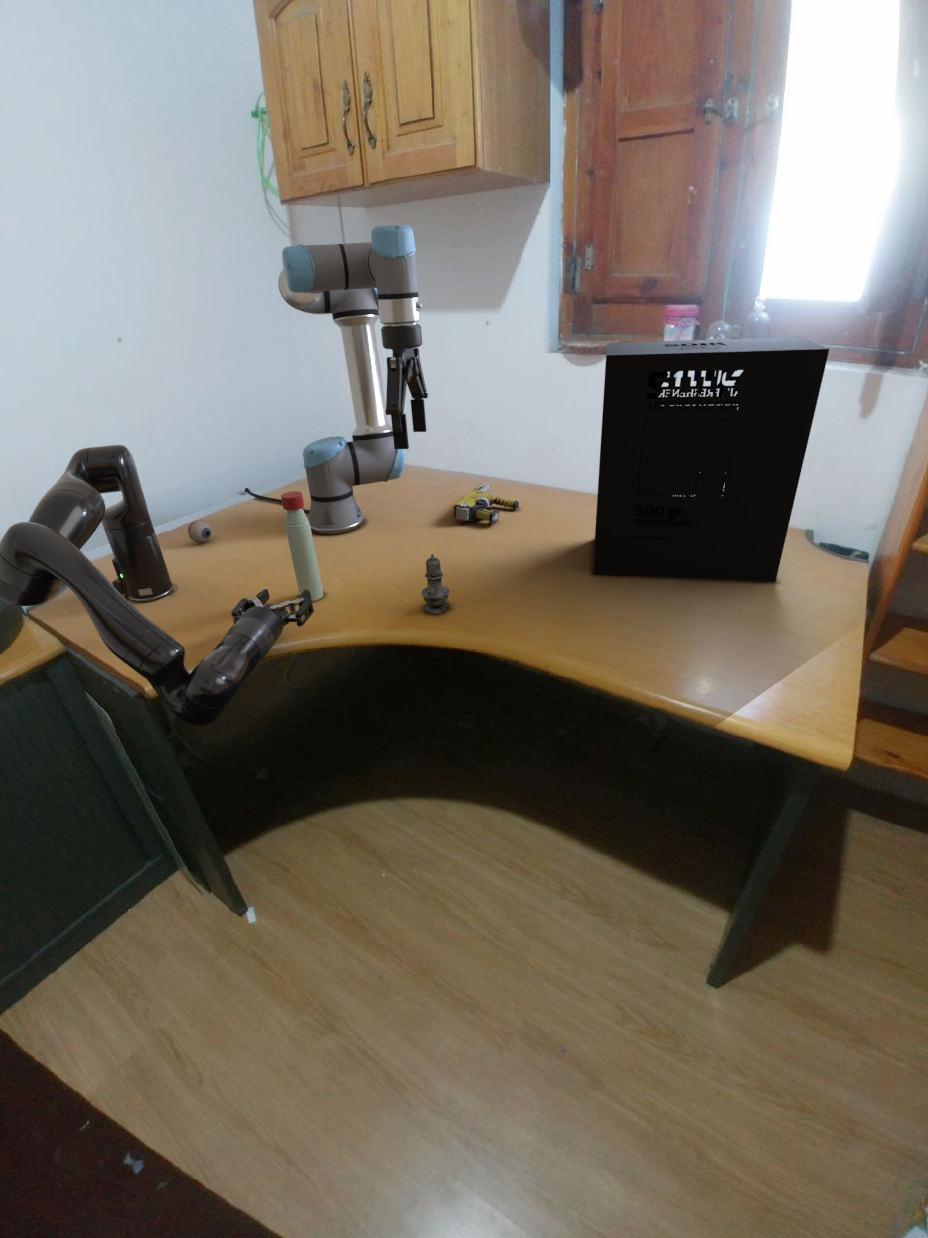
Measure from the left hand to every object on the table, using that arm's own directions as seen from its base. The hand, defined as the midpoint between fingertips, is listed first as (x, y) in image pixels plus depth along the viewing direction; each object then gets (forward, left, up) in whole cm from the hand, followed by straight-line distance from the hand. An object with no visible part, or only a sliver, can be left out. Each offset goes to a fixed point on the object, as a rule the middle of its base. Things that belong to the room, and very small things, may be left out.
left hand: (287, 593), depth 120 cm
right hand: (+23, +22, +24) cm, 40 cm away
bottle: (0, +11, -6) cm, 12 cm away
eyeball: (-42, +40, -6) cm, 58 cm away
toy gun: (+34, +64, -6) cm, 73 cm away
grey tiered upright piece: (+29, +7, -6) cm, 30 cm away
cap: (0, +11, +16) cm, 20 cm away
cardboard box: (+81, +32, -6) cm, 87 cm away
